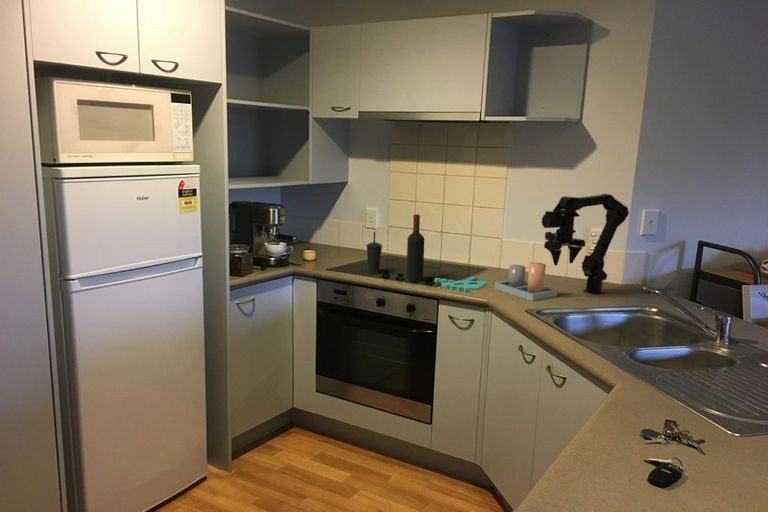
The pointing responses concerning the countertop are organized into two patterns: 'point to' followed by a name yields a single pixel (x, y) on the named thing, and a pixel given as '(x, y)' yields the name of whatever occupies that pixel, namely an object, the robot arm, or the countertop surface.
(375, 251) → the drinking cup
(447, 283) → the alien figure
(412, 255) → the wine bottle
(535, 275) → the peach round cylinder
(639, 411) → the countertop surface
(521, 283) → the grey cylinder
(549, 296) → the cup rack
